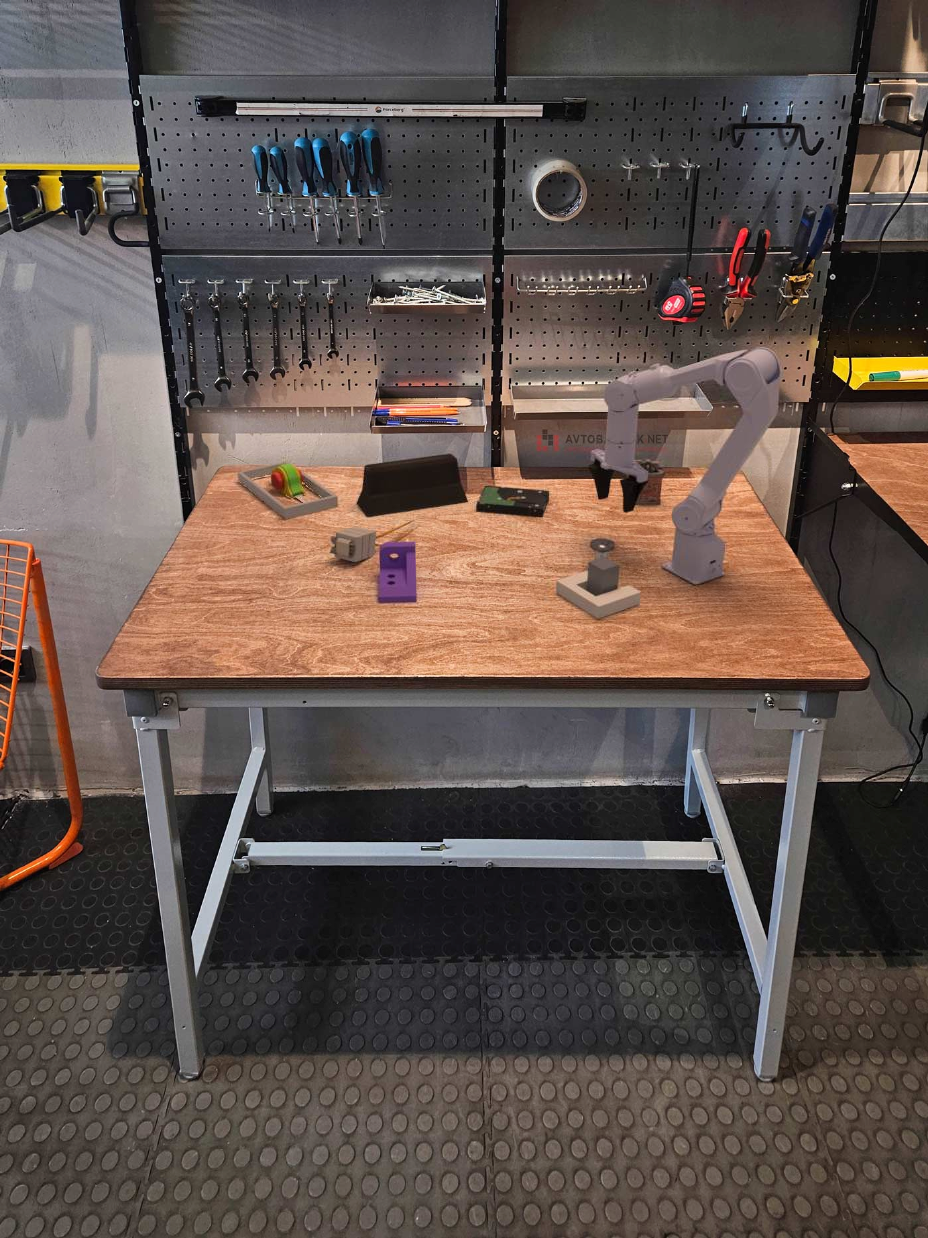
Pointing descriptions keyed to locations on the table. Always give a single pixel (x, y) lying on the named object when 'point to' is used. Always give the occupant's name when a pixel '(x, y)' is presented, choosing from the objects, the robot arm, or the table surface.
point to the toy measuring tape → (288, 481)
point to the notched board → (596, 605)
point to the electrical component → (358, 542)
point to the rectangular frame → (324, 503)
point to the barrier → (411, 485)
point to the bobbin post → (602, 547)
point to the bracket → (397, 572)
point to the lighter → (651, 484)
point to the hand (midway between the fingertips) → (615, 504)
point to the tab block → (602, 576)
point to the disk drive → (513, 501)
